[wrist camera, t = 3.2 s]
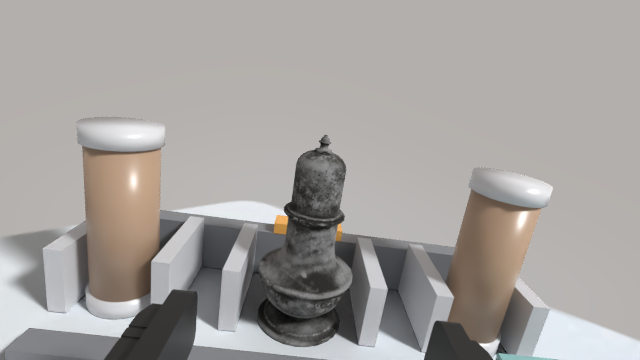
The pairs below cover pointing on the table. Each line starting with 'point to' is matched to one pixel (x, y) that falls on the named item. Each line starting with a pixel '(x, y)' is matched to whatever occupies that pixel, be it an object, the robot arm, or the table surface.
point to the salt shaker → (307, 256)
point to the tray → (518, 357)
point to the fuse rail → (243, 260)
